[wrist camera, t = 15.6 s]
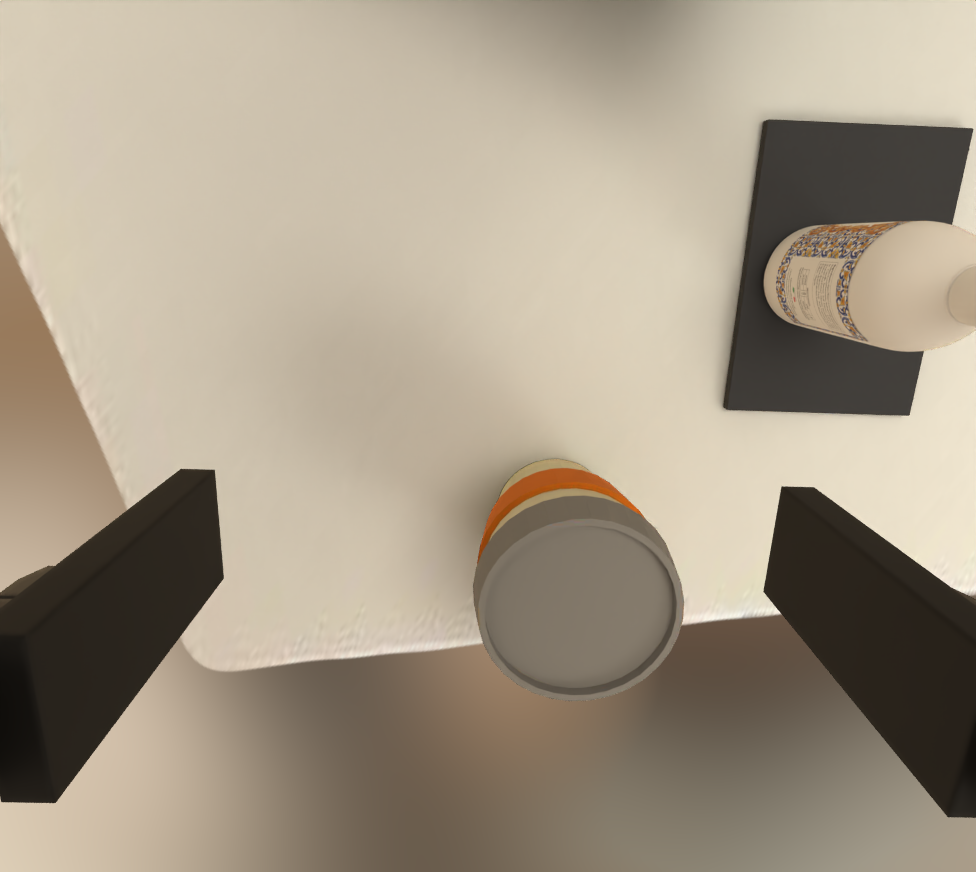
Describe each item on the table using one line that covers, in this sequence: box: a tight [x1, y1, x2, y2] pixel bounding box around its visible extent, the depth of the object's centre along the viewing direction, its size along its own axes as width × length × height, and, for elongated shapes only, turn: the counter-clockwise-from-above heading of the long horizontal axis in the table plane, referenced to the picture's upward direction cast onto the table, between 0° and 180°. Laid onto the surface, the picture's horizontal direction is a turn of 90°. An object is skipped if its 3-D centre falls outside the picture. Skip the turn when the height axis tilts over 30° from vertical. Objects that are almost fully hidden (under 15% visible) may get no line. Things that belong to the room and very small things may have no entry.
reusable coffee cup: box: [473, 459, 684, 701], centre depth 46 cm, size 13×13×15 cm
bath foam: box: [764, 220, 976, 352], centre depth 38 cm, size 7×7×20 cm
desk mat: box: [724, 120, 973, 416], centre depth 48 cm, size 20×14×1 cm
